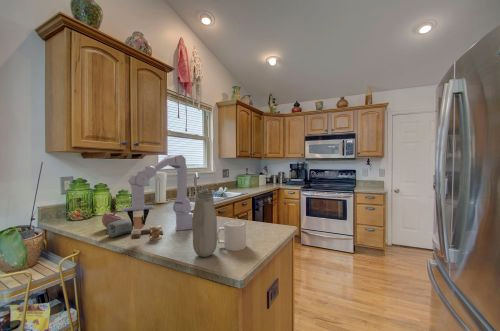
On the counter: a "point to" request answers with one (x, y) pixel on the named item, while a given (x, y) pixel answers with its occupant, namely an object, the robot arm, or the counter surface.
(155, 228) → the bobbin
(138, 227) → the salmon pink cuboid
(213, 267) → the counter surface
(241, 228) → the mug
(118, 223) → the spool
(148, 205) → the robot arm
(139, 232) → the notched board
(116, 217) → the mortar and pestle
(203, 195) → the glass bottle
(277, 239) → the counter surface
